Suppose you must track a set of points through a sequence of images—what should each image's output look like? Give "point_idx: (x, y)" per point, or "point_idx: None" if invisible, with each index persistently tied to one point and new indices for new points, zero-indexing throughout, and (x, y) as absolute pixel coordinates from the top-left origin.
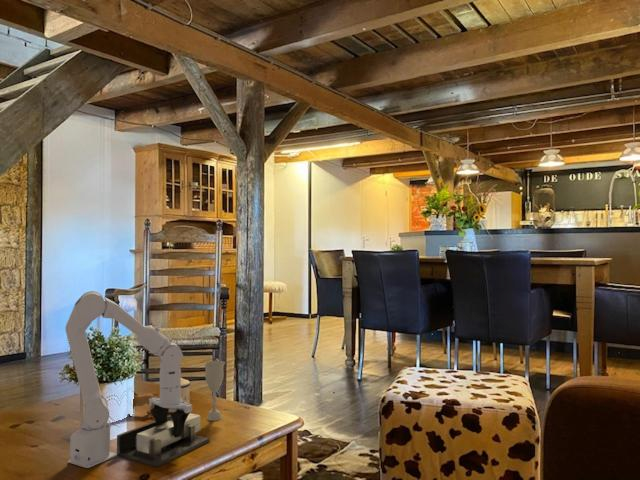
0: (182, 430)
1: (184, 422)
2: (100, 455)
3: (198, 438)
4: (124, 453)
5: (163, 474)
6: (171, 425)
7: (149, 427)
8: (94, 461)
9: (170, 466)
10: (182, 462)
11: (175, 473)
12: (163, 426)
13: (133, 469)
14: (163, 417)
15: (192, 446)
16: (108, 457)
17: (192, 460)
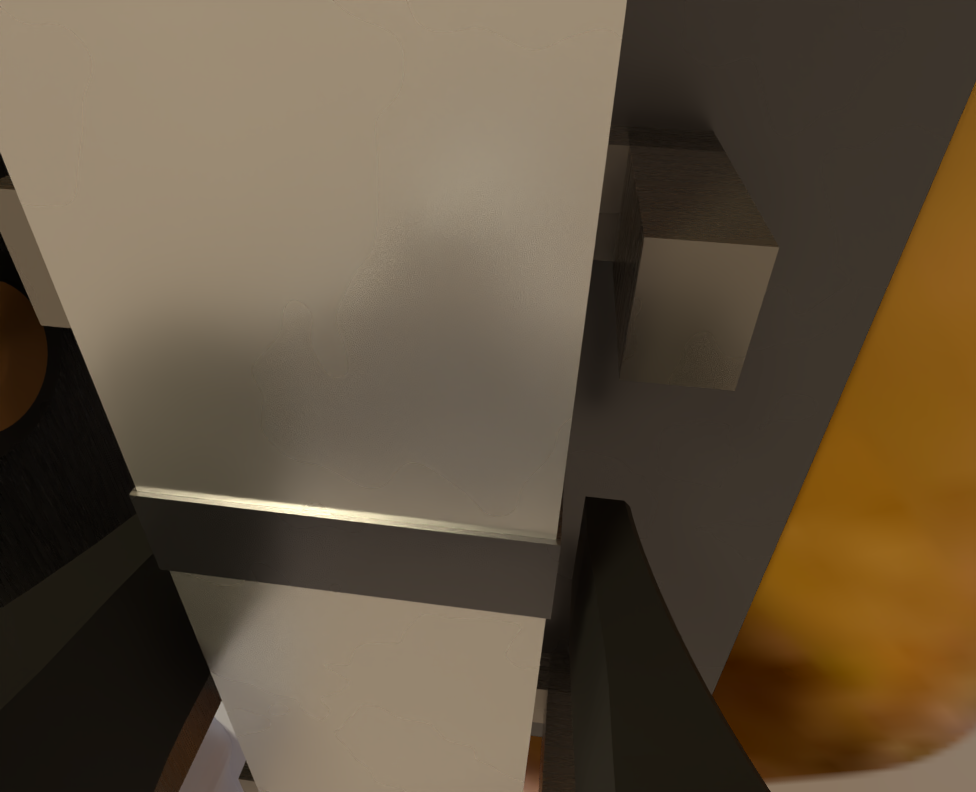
0: (648, 566)
1: (722, 735)
2: (215, 789)
3: (768, 54)
4: None
5: (809, 779)
6: (453, 722)
7: (2, 561)
8: (229, 776)
9: (786, 699)
10: (864, 633)
11: (904, 762)
12: (366, 764)
13: (531, 761)
14: (90, 742)
15: (836, 404)
16: (227, 723)
17: (963, 583)
